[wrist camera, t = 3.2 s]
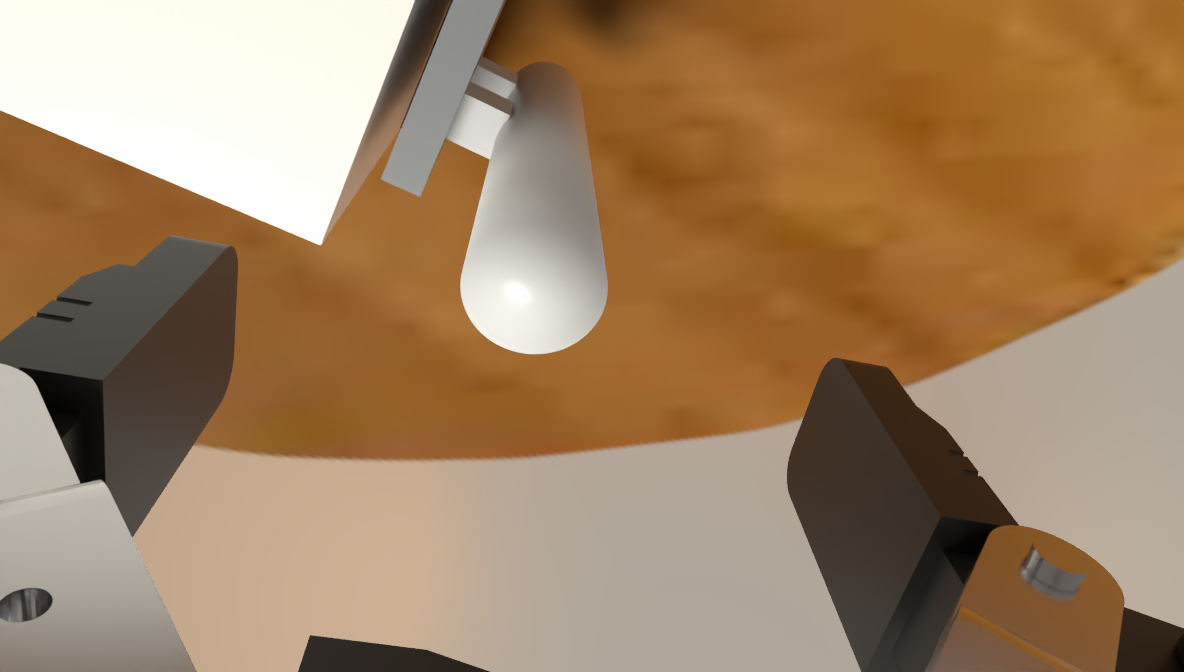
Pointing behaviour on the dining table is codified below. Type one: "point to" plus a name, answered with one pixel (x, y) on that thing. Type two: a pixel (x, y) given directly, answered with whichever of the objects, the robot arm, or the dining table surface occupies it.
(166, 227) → the dining table surface
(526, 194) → the side door
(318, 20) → the cabinet housing
